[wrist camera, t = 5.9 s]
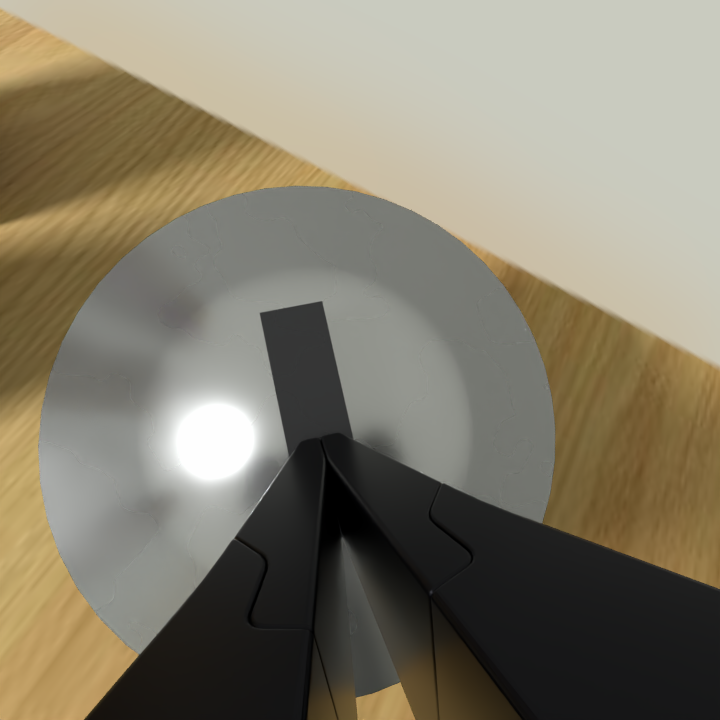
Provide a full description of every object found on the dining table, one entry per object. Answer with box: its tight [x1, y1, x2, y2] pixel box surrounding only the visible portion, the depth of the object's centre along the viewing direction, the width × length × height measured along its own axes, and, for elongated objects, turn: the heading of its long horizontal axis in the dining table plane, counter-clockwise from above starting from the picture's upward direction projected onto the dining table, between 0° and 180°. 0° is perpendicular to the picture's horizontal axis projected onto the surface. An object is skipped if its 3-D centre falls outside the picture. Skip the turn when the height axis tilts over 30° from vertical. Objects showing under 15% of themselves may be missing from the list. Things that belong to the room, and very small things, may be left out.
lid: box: [38, 186, 555, 697], centre depth 10 cm, size 12×12×2 cm
